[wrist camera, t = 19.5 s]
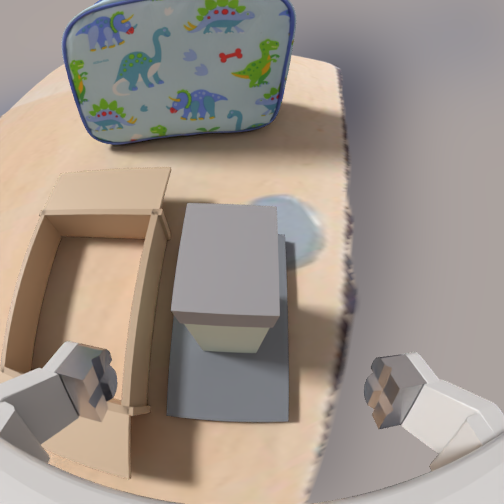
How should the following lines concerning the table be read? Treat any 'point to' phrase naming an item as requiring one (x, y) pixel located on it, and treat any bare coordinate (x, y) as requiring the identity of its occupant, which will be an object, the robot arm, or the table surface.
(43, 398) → the robot arm
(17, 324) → the open cardboard box
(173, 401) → the slate mat
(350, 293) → the table surface
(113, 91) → the lunch box
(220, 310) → the block
